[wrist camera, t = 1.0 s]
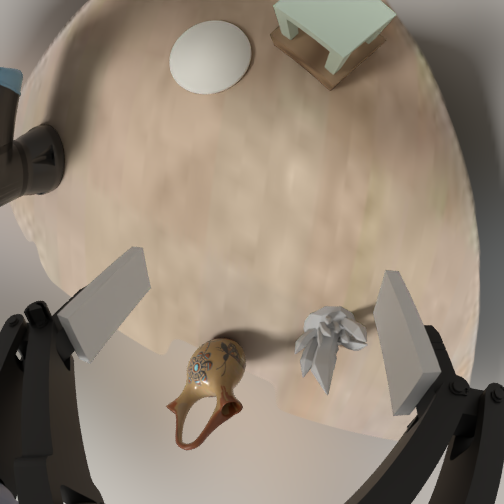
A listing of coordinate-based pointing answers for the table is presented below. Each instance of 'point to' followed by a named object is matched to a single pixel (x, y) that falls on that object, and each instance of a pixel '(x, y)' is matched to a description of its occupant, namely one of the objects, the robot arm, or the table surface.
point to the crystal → (328, 341)
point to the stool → (334, 24)
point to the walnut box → (321, 55)
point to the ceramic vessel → (210, 385)
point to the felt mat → (210, 57)
